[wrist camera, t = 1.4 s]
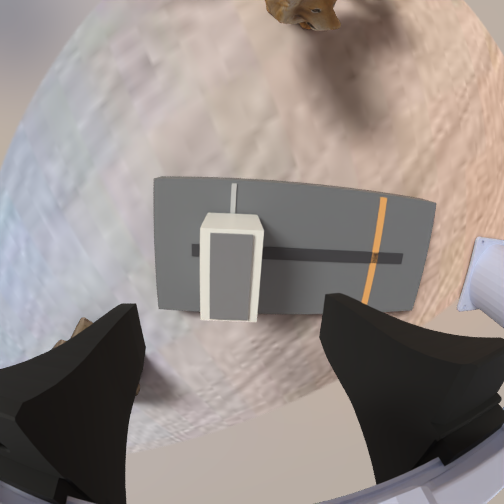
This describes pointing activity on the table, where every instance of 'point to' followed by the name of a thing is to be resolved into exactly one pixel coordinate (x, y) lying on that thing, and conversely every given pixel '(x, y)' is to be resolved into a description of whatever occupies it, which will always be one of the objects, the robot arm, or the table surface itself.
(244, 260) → the fader knob
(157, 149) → the table surface
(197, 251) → the fader console
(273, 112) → the table surface
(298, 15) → the lion figurine
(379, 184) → the table surface
